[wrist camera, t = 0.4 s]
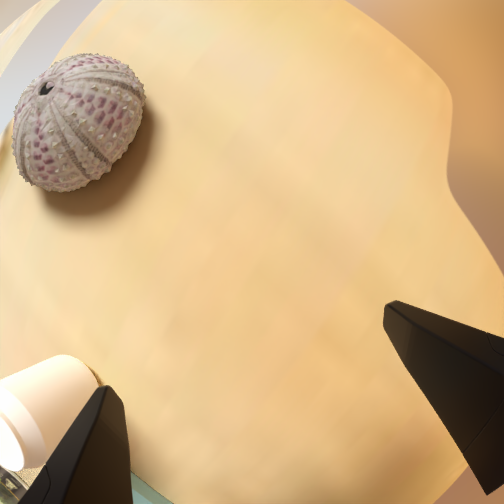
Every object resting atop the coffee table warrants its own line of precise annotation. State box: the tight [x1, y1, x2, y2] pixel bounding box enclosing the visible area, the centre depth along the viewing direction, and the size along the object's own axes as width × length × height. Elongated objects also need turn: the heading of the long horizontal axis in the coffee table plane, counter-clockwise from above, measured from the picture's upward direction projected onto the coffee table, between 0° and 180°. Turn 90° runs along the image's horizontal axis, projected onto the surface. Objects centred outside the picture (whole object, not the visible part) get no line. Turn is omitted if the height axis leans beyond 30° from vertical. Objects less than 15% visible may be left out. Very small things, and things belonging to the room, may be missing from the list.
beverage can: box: [0, 355, 99, 472], centre depth 16 cm, size 6×6×12 cm
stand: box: [131, 472, 173, 504], centre depth 20 cm, size 8×8×2 cm
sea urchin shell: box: [11, 53, 146, 193], centre depth 20 cm, size 13×14×8 cm
